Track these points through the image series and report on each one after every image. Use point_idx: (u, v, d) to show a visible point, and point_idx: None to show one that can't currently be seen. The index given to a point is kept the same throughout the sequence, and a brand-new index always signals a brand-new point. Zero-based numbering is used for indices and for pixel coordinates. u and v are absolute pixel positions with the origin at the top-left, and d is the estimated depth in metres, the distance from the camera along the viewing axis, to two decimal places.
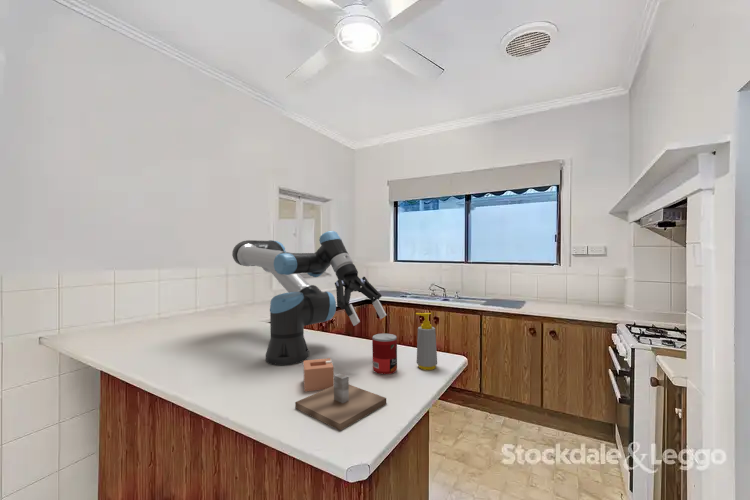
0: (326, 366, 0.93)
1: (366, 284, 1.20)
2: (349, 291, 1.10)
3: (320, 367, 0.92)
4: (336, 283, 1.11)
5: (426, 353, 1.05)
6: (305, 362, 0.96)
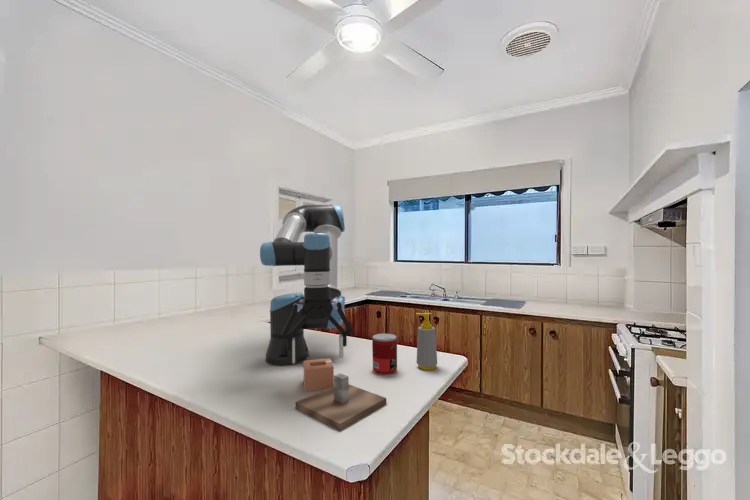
0: (326, 366, 0.93)
1: (338, 312, 0.96)
2: (302, 322, 0.93)
3: (320, 367, 0.92)
4: (293, 306, 0.94)
5: (426, 353, 1.05)
6: (305, 362, 0.96)
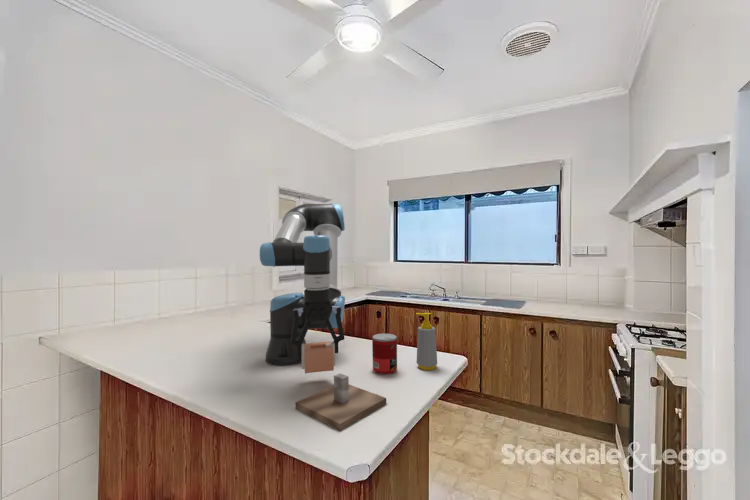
0: (326, 348, 0.93)
1: (336, 317, 0.96)
2: (306, 326, 0.94)
3: (320, 349, 0.93)
4: None
5: (426, 353, 1.05)
6: (305, 345, 0.97)
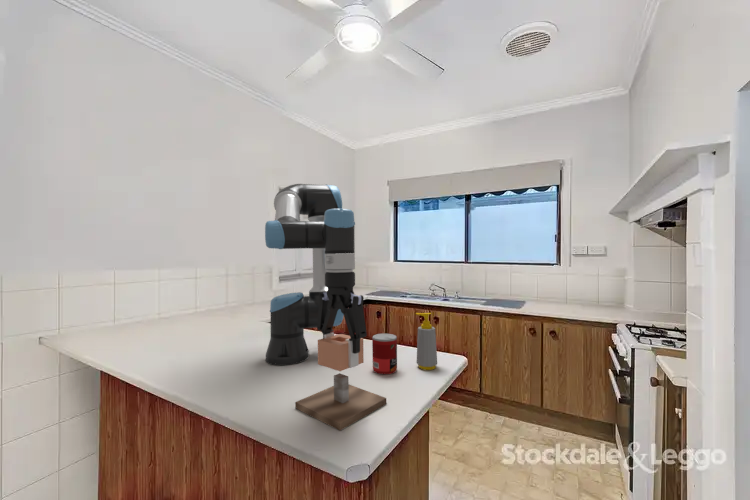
0: (337, 343, 0.78)
1: None
2: (328, 313, 0.83)
3: (332, 341, 0.79)
4: None
5: (426, 353, 1.05)
6: (337, 335, 0.85)
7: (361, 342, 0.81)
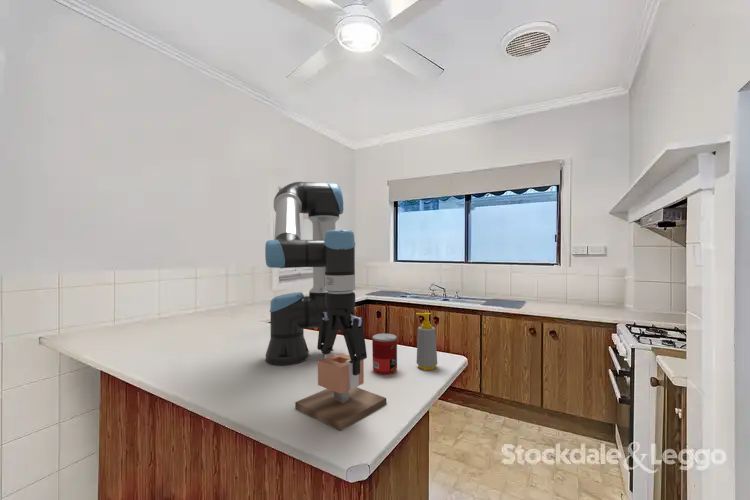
0: (337, 364, 0.78)
1: None
2: (328, 334, 0.83)
3: (332, 363, 0.79)
4: None
5: (426, 353, 1.05)
6: (337, 355, 0.85)
7: (361, 363, 0.81)
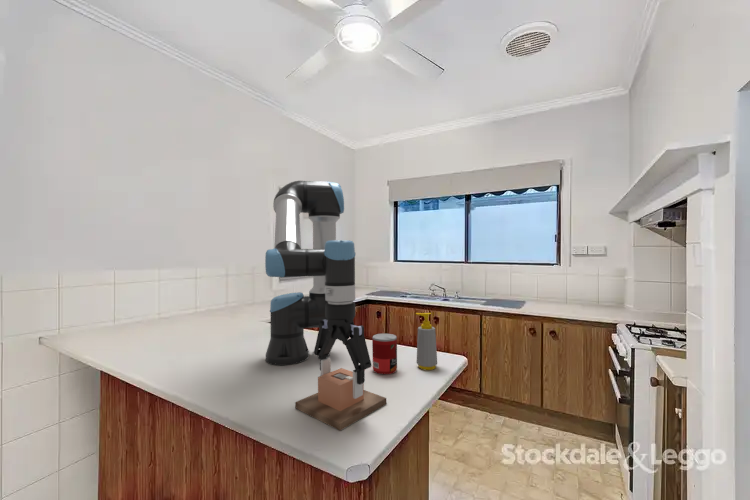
0: (337, 381, 0.78)
1: None
2: (326, 342, 0.83)
3: (332, 380, 0.79)
4: None
5: (426, 353, 1.05)
6: (337, 370, 0.85)
7: None
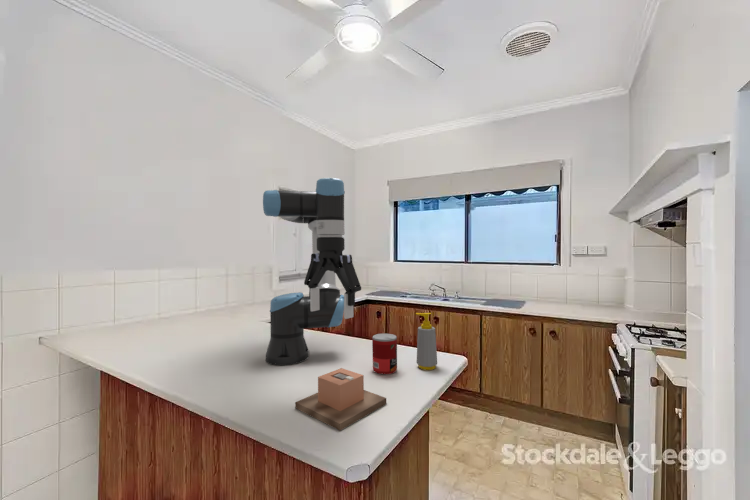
0: (337, 381, 0.78)
1: None
2: (316, 272, 0.91)
3: (332, 380, 0.79)
4: None
5: (426, 353, 1.05)
6: (337, 370, 0.85)
7: (361, 379, 0.81)
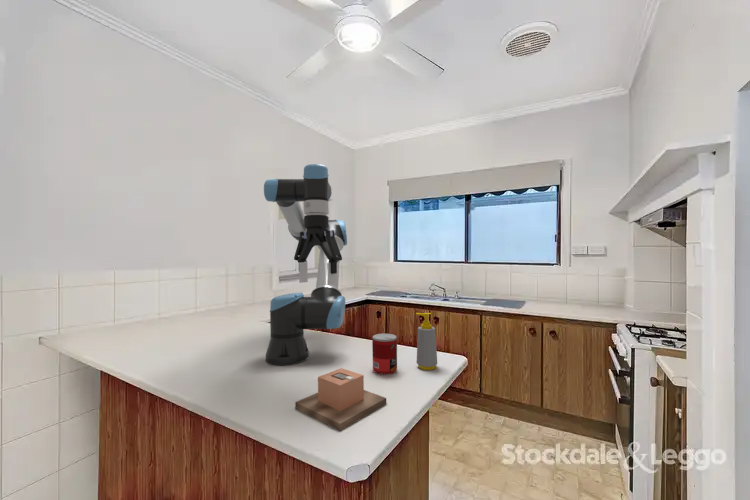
0: (337, 381, 0.78)
1: None
2: (304, 247, 1.04)
3: (332, 380, 0.79)
4: None
5: (426, 353, 1.05)
6: (337, 370, 0.85)
7: (361, 379, 0.81)
